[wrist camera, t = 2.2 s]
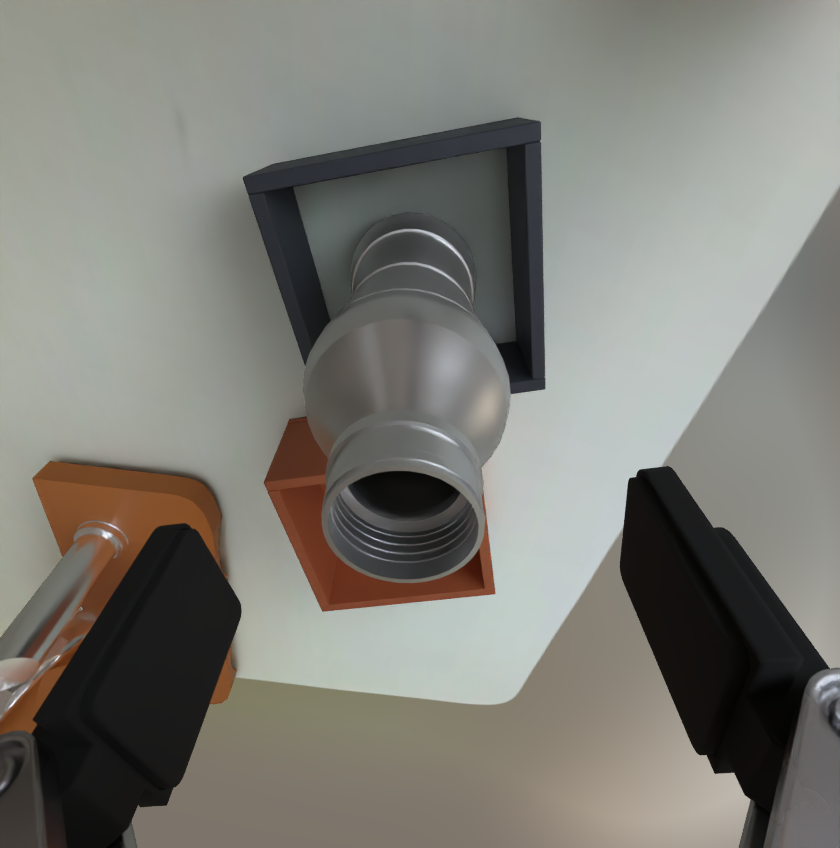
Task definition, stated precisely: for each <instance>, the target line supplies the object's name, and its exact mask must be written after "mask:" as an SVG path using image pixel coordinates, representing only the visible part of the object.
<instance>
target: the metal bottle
mask: <svg viewBox="0 0 840 848" xmlns="http://www.w3.org/2000/svg"><path fill="white" fill-rule="evenodd" d="M475 287H476V273H475V266H474V262H473V259H472V256H471V253H470V251H469V249H468V247H467V246H466V244H465V242H464V240H463V239H462V238H461V237H460V236H459V235H458V234H457V232H456V231H455V230H454V229H452V228H451V227H450V226H448V225H447V224H446V223H444V222H443V221H441V220H438V219H436V218H434V217H432V216H429V215H425V214H421V213H402V214H397V215H392V216H390V217H388V218H386V219H383V220H381V221H380V222H378V223H377V224H375V225H374V226H373V227H371V228H370V229H369V230H368V232H367V233H366V234H365V235H364V236H363V237H362V239H361V240H360V242H359V244H358V246H357V248H356V250H355V253H354V256H353V259H352V265H351V292H352V297H351V299H350V300H349V302H348V304H347V305H346V306H345V307H344V308H343V309H342V310H341V311H340V312H339V313H338V314H337V315H336V316H335V317H334V318H333V319H332V320H331V321H330V322H329V323H328V324H327V325H326V327H325V328H324V330H323V332H322V333H321V334H320V336H319V337H318V339H317V341H316V343H315V344H314V346H313V348H312V350H311V351H310V353H309V356H308V359H307V363H306V366H305V369H304V378H303V395H304V402H305V408H306V414H307V420H308V424H309V427H310V429H311V432H312V434H313V437H314V439H315V440H316V442H317V443H318V445H319V447H320V448H321V450H322V451H323V453H324V454H325V455H326V457H327V458H328V462H327V466H326V475H325V483H326V491H325V495H324V499H323V503H322V513H321V517H322V522H321V523H322V529H323V534H324V537H325V539H326V541H327V543H328V545H329V547H330V548H331V549H332V551H333V552H334V553H335V555H336V556H337V557H339V558H340V559H341V560H342V561H343V562H344V563H345V564H347V565H348V566H350V567H351V568H353V569H354V570H356V571H358V572H360V573H362V574H365V575H367V576H369V577H372V578H376V579H379V580H383V581H389V582H396V583H418V582H427V581H431V580H435V579H439V578H442V577H444V576H447V575H449V574H451V573H454V572H455V571H457V570H458V569H460V568H461V567H463V566H464V565H465V564H467V563H468V562H469V561H470V560H471V559H472V558H473V557H474V555H475V554H476V552H477V551H478V549H479V548H480V546H481V543H482V540H483V538H484V528H485V514H484V508H483V502H482V495H483V477H482V471H481V467H482V466H483V465H484V464H485V463H486V462H487V461H488V459H489V458H490V457H491V456H492V454H493V453H494V451H495V449H496V448H497V446H498V444H499V443H500V440H501V437H502V434H503V432H504V429H505V425H506V421H507V417H508V413H509V406H510V397H511V392H510V383H509V375H508V373H507V370H506V367H505V364H504V361H503V358H502V356H501V354H500V352H499V350H498V348H497V346H496V344H495V342H494V341H493V339H492V338H491V336H490V334H489V333H488V331H487V330H486V329H485V327H484V326H483V324H482V323H481V322H480V320H479V319H478V317H477V316H476V315H475V313H474V310H473V308H472V305H473V301H474V298H475Z"/></svg>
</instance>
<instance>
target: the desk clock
mask: <svg viewBox="0 0 840 848" xmlns="http://www.w3.org/2000/svg"><path fill="white" fill-rule="evenodd" d="M32 479H33V482H34V485H35V487H36V490H37V492H38V495H39V497H40V500H41V503H42V505H43V508H44V510H45V513H46V515H47V518H48V521H49V523H50V526H51V528H52V531H53V533H54V536H55V539H56V541H57V544H58V546H59V549H60V552H61V554H62V557H63V558H62V559H61V560H60V561H59V563H58V564H57V565H56V567H55V568H54V569H53V570H52V572H51V573H50V574H49V576H48V577H47V578H46V579H45V581H44V582H43V583H42V585H41V586H40V587H39V588H38V590H37V591H36V592H35V594H34V595H33V596H32V597H31V599H30V600H29V601H28V603H27V604H26V605H25V606H24V608H23V609H22V610H21V612H20V613H19V614H18V615H17V617H16V618H15V619H14V621H13V622H12V623H11V624H10V626H9V627H8V628H7V630H6V631H5V632H4V633H3V635H2V636H1V637H0V735H1V734H4V733H8V732H11V731H14V730H17V731H27V732H28V733H30V734H31V733H32V732H33V730H34V729H35V727H36V725H37V723H36V722H34V721H33V720H32V719H33V718H34V716H35V714H36V713H37V711H38V710H39V708H40V707H41V705H42V704H43V702H44V700H45V699H46V697H47V696H48V694H49V693H50V691H51V690H52V688H53V686H54V685H55V683H56V682H57V680H58V679H59V677H60V676H61V674H62V672H63V671H64V669H65V668H66V666H67V665H68V663H69V661H70V660H71V658H72V657H73V655H74V654H75V652H76V651H77V649H78V647H79V646H80V644H81V643H82V641H83V640H84V638H85V637H86V635H87V633H88V632H89V630H90V629H91V627H92V626H93V624H94V623H95V621H96V619H97V618H98V616H99V615H100V613H101V612H102V610H103V608H104V607H105V605H106V604H107V602H108V601H109V599H110V598H111V596H112V594H113V593H114V591H115V590H116V588H117V587H118V585H119V584H120V582H121V580H122V579H123V577H124V576H125V574H126V573H127V571H128V570H129V568H130V566H131V565H132V563H133V562H134V560H135V559H136V557H137V555H138V554H139V552H140V551H141V549H142V548H143V546H144V545H145V543H146V541H147V540H148V538H149V537H150V535H151V534H152V532H153V531H154V530H155V529H156V528H157V527H159V526H163V525H172V524H180V523H186V524H188V525H190V527H191V528H192V529H196V530H197V531H198V532H199V534H200V535H201V537H202V539H203V540H204V542H205V544H206V545H207V547H208V549H209V550H210V552H211V554H212V556H213V557H214V559H215V561H216V562H217V564H218V566H219V567H220V569H221V571H222V568H221V565H220V558H219V533H220V523H221V517H222V516H221V513H220V511H219V508H218V506H217V504H216V501H215V499H214V497H213V495H212V494H211V493H210V491H209V490H208V489H207V488H206V487H205V486H204V485H203V484H202V483H200V482H198V481H196V480H193V479H191V478H186V477H180V476H173V475H164V474H156V473H147V472H139V471H130V470H121V469H113V468H104V467H96V466H87V465H78V464H70V463H61V462H53V461H50V462H49V463H48V464H47V465H45V466H44V467H43V468H42V469H41V470H40V471H39V472H38V473H37V474H36V475H35V476H34V477H33V478H32ZM222 572H223V571H222ZM223 574H224V576H225V578H226V579H227V581H228V575H227V574H225V573H223ZM81 606H82V608H83V610H82V611H79V612H77V611H78V610H79V608H80V607H81ZM236 672H237V669H234V668H232V664H231V646H230V649H229V651H228V654H227V657H226V660H225V662H224V665H223V668H222V671H221V674H220V676H219V679H218V682H217V685H216V687H215V690H214V693H213V696H212V699H211V701H210V704H218V703H222V702H223V701H225V700H226V699H227V698H228V696H229V693H230V691H231V688H232V684H233V682H234V678H235V675H236Z"/></svg>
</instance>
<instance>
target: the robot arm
mask: <svg viewBox="0 0 840 848" xmlns="http://www.w3.org/2000/svg"><path fill="white" fill-rule="evenodd" d="M620 572H621V576H622V580H623V582H624V585H625V587H626V590H627V592H628V594H629V597H630V599H631V601H632V604H633V606H634V609H635V611H636V613H637V616H638V618H639V620H640V623H641V625H642V628H643V630H644V632H645V635H646V637H647V640H648V642H649V644H650V646H651V649H652V651H653V654H654V656H655V659H656V661H657V663H658V666H659V668H660V670H661V673H662V675H663V678H664V680H665V682H666V685H667V687H668V689H669V692H670V694H671V696H672V699H673V701H674V704H675V706H676V708H677V711H678V713H679V716H680V718H681V720H682V723H683V725H684V727H685V730H686V732H687V734H688V737H689V739H690V741H691V744H692V746H693V748H694V749H695V751H696V752H697V753H698V754H699V755H707V757H708V759H709V761H710V764H711V766H712V768H713V771H714V773H715V774H718V773H735V775H736V777H737V780H738V782H739V784H740V786H741V788H742V790H743V792H744V794H745V795H746V796H747V797H748V798H750V799H751V801H750V805H749V809H748V813H747V817H746V821H745V824H744V829H743V833H742V836H741V840H740V845H739V848H840V668H832V669H830V668H829V667H828V665H827V664H826V663H825V661H824V660H823V658H822V657H821V656H820V655H819V653H818V652H817V650H816V649H815V648H814V646H813V645H812V643H811V642H810V641H809V639H808V638H807V636H806V635H805V634H804V632H803V631H802V629H801V628H800V627H799V625H798V624H797V623H796V621H795V620H794V618H793V617H792V616H791V614H790V613H789V612H788V610H787V609H786V607H785V606H784V605H783V603H782V602H781V601H780V599H779V598H778V597H777V595H776V594H775V592H774V591H773V589H772V588H771V587H770V585H769V584H768V583H767V581H766V580H765V578H764V577H763V576H762V574H761V573H760V572H759V570H758V569H757V567H756V566H755V565H754V563H753V562H752V561H751V559H750V558H749V556H748V555H747V554H746V552H745V551H744V549H743V548H742V547H741V545H740V544H739V543H738V541H737V540H736V539H735V537H734V536H733V535H732V534H731V533H730V532H729V531H728V530H726V529H724V528H719V527H718V528H713V527H712V525H711V523H710V522H709V521H708V519H707V518H706V516H705V515H704V513H703V512H702V510H701V509H700V508H699V506H698V505H697V503H696V502H695V501H694V499H693V497H692V496H691V495H690V493H689V492H688V490H687V489H686V487H685V486H684V485H683V483H682V481H681V480H680V479H679V477H678V476H677V474H676V473H675V471H674V470H673V469H672V468H671V467H669V466H666V467H658V468H649V469H641V470H639V471H638V472H637V476H636V477H634V478H630V479H629V481H628V489H627V499H626V509H625V519H624V528H623V539H622V548H621V558H620ZM240 618H241V604H240V601H239V600H238V598H237V596H236V595H235V593H234V591H233V589H232V588H231V586H230V584H229V583H228V581H227V579H226V578H225V576H224V574H223V572H222V571H221V569H220V567H219V566H218V564H217V562H216V561H215V559H214V557H213V556H212V554H211V552H210V550H209V549H208V547H207V545H206V544H205V542H204V540H203V539H202V537H201V535H200V534H199V532H198V531H197V530H196V529H192V528H191V527H190V525H188V524H186V523H180V524H172V525H163V526H159V527H157V528H156V529H155V530H154V531H153V532H152V534H151V535H150V537H149V538H148V540H147V541H146V543H145V545H144V546H143V548H142V549H141V551H140V552H139V554H138V555H137V557H136V559H135V560H134V562H133V563H132V565H131V566H130V568H129V570H128V571H127V573H126V574H125V576H124V577H123V579H122V580H121V582H120V584H119V585H118V587H117V588H116V590H115V591H114V593H113V594H112V596H111V598H110V599H109V601H108V602H107V604H106V605H105V607H104V608H103V610H102V612H101V613H100V615H99V616H98V618H97V619H96V621H95V623H94V624H93V626H92V627H91V629H90V630H89V632H88V633H87V635H86V637H85V638H84V640H83V641H82V643H81V644H80V646H79V647H78V649H77V651H76V652H75V654H74V655H73V657H72V658H71V660H70V661H69V663H68V665H67V666H66V668H65V669H64V671H63V672H62V674H61V676H60V677H59V679H58V680H57V682H56V683H55V685H54V686H53V688H52V690H51V691H50V693H49V694H48V696H47V697H46V699H45V700H44V702H43V704H42V705H41V707H40V708H39V710H38V711H37V713H36V714H35V716H34V718H33V719H32V720H33V721H34V722H36V723H37V725H36V727H35V729H34V730H33V732H32V733H31V734H30V733H28V732H27V731H17V730H14V731H11V732H8V733H4V734H1V735H0V848H137V843H136V839H135V834H134V830H133V826H132V818H133V816H134V813H135V811H136V808H137V806H138V805H139V806H140V807H148V806H164V805H165V806H166V805H167V803H168V801H169V798H170V795H171V792H172V790H173V787H176V786H177V785H178V784H179V783H180V781H181V780H182V778H183V775H184V773H185V771H186V768H187V765H188V762H189V759H190V757H191V754H192V751H193V749H194V746H195V743H196V740H197V737H198V734H199V732H200V729H201V726H202V723H203V721H204V718H205V715H206V712H207V709H208V707H209V704H210V701H211V699H212V696H213V693H214V690H215V687H216V685H217V682H218V679H219V676H220V674H221V671H222V668H223V665H224V662H225V660H226V657H227V654H228V651H229V649H230V646H231V643H232V640H233V638H234V635H235V632H236V629H237V626H238V624H239V621H240Z"/></svg>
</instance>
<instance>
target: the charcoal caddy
mask: <svg viewBox="0 0 840 848" xmlns="http://www.w3.org/2000/svg"><path fill="white" fill-rule="evenodd" d="M540 140H541V122H540V121H536V120H530V119H524V118H513V119H507V120H502V121H497V122H491V123H486V124H481V125H476V126H470V127H465V128H460V129H455V130H449V131H444V132H439V133H433V134H428V135H423V136H418V137H412V138H407V139H402V140H397V141H391V142H386V143H381V144H375V145H370V146H365V147H360V148H354V149H349V150H344V151H339V152H333V153H328V154H323V155H318V156H312V157H307V158H302V159H296V160H291V161H286V162H281V163H275V164H272V165H270V166H267V167H265V168H263V169H260V170H258V171H256V172H253V173H251V174H249V175H247V176H244V177H243V181H244V184H245V187H246V190H247V193H248V194H249V199H250V202H251V205H252V208H253V211H254V214H255V217H256V220H257V223H258V226H259V229H260V232H261V235H262V238H263V241H264V244H265V247H266V250H267V253H268V256H269V259H270V262H271V265H272V268H273V271H274V274H275V277H276V280H277V283H278V286H279V289H280V292H281V295H282V298H283V301H284V304H285V307H286V310H287V313H288V316H289V319H290V322H291V325H292V328H293V331H294V334H295V337H296V340H297V343H298V346H299V349H300V352H301V355H302V358H303V361H304V364H305V366H306V363H307V359H308V356H309V353H310V351H311V350H312V348H313V346H314V344H315V343H316V341H317V339H318V337H319V336H320V334H321V333H322V332H323V330H324V328H325V327H326V325H327V324H328V323H329V322H330V318H329V314H328V311H327V307H326V304H325V300H324V297H323V293H322V289H321V286H320V282H319V279H318V275H317V272H316V268H315V265H314V261H313V258H312V254H311V251H310V247H309V244H308V240H307V236H306V233H305V229H304V226H303V222H302V219H301V215H300V212H299V208H298V205H297V201H296V198H295V194H294V190H293V187H294V186H300V185H305V184H311V183H316V182H321V181H327V180H332V179H338V178H343V177H349V176H354V175H359V174H365V173H370V172H376V171H381V170H386V169H392V168H397V167H403V166H408V165H414V164H419V163H424V162H430V161H435V160H441V159H446V158H451V157H457V156H462V155H468V154H473V153H479V152H484V151H489V150H495V149H500V148H506V151H507V170H508V189H509V208H510V227H511V246H512V265H513V284H514V303H515V322H516V340H517V341H516V342H509V343H502V344H496V346H497V348H498V350H499V352H500V354H501V356H502V358H503V361H504V364H505V367H506V370H507V373H508V375H509V383H510V392H511V394H514V393H521V392H529V391H536V390H543V389H545V347H544V288H543V229H542V170H541V142H540Z"/></svg>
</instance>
